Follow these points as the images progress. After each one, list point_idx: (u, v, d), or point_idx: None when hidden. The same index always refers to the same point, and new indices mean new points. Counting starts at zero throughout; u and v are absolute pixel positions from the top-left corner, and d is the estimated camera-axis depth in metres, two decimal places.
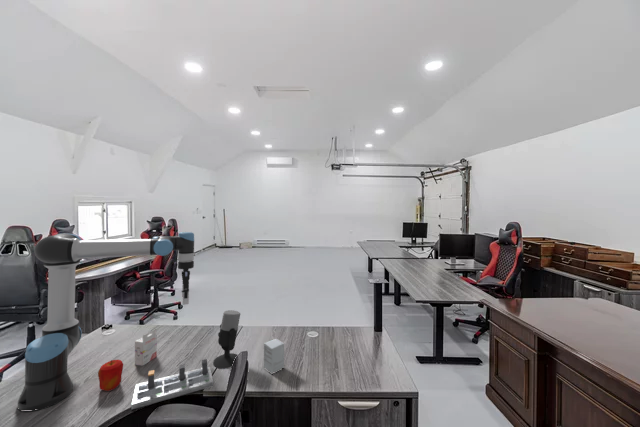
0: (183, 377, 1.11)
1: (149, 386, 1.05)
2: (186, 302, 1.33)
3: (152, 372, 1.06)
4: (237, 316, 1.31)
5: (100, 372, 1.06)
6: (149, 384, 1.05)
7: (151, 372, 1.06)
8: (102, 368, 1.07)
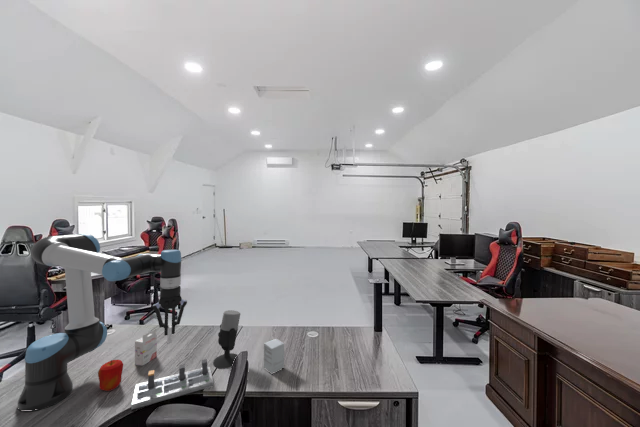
0: (183, 377, 1.11)
1: (149, 386, 1.05)
2: (167, 340, 1.09)
3: (152, 372, 1.06)
4: (237, 316, 1.31)
5: (100, 372, 1.06)
6: (149, 384, 1.05)
7: (151, 372, 1.06)
8: (102, 368, 1.07)
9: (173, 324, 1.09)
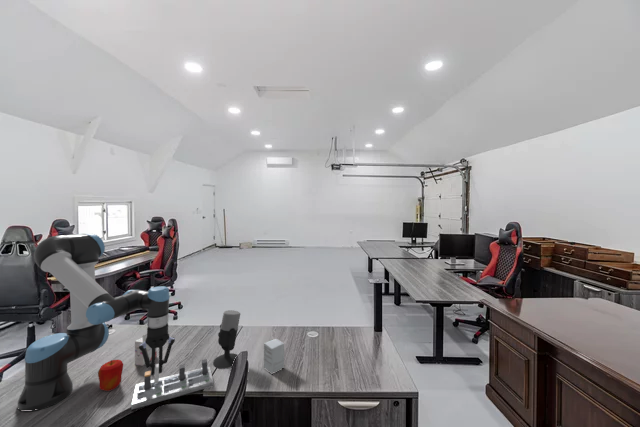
0: (183, 377, 1.11)
1: (145, 387, 1.04)
2: (154, 380, 1.07)
3: (148, 373, 1.06)
4: (237, 316, 1.31)
5: (100, 372, 1.06)
6: (145, 385, 1.04)
7: (147, 373, 1.06)
8: (102, 368, 1.07)
9: (160, 363, 1.07)
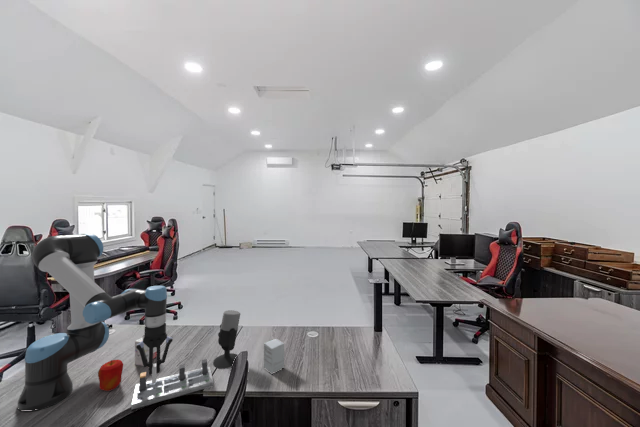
0: (183, 377, 1.11)
1: (141, 388, 1.04)
2: (152, 379, 1.06)
3: (144, 374, 1.05)
4: (237, 316, 1.31)
5: (100, 372, 1.06)
6: (141, 386, 1.04)
7: (143, 374, 1.05)
8: (102, 368, 1.07)
9: (158, 363, 1.07)
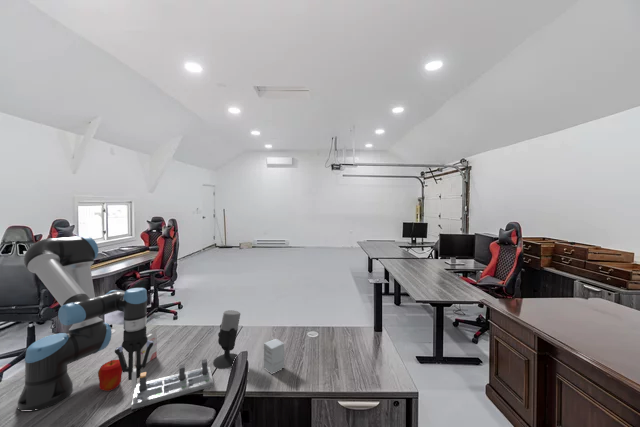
0: (183, 377, 1.11)
1: (141, 388, 1.04)
2: (131, 385, 1.03)
3: (144, 374, 1.05)
4: (237, 316, 1.31)
5: (100, 372, 1.06)
6: (141, 386, 1.04)
7: (143, 374, 1.05)
8: (102, 368, 1.07)
9: (138, 368, 1.03)
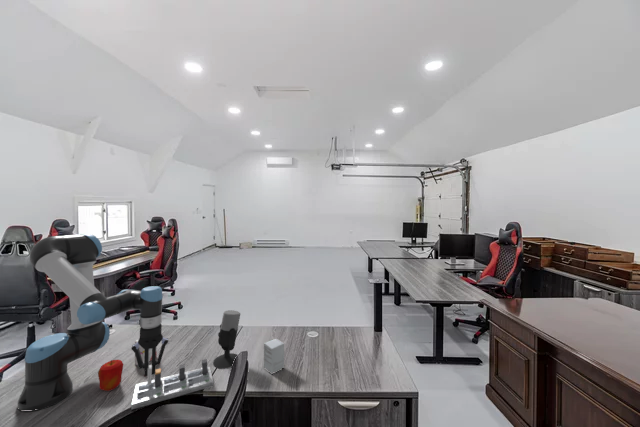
0: (183, 377, 1.11)
1: (156, 384, 1.06)
2: None
3: (159, 370, 1.08)
4: (237, 316, 1.31)
5: (100, 372, 1.06)
6: (156, 382, 1.06)
7: (158, 370, 1.08)
8: (102, 368, 1.07)
9: (153, 364, 1.06)
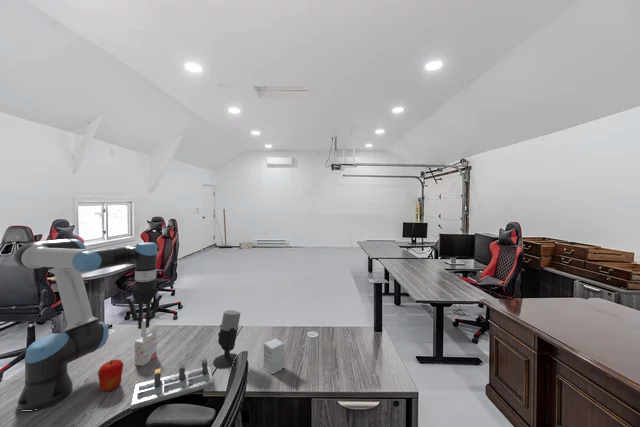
0: (183, 377, 1.11)
1: (155, 384, 1.06)
2: (141, 334, 1.08)
3: (158, 370, 1.08)
4: (237, 316, 1.31)
5: (100, 372, 1.06)
6: (155, 382, 1.06)
7: (157, 370, 1.08)
8: (102, 368, 1.07)
9: (147, 318, 1.08)
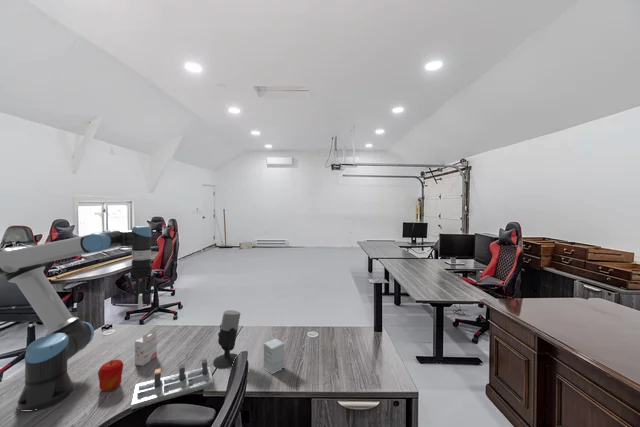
0: (183, 377, 1.11)
1: (155, 384, 1.06)
2: (138, 306, 1.22)
3: (158, 370, 1.08)
4: (237, 316, 1.31)
5: (100, 372, 1.06)
6: (155, 382, 1.06)
7: (157, 370, 1.08)
8: (102, 368, 1.07)
9: (143, 292, 1.22)
